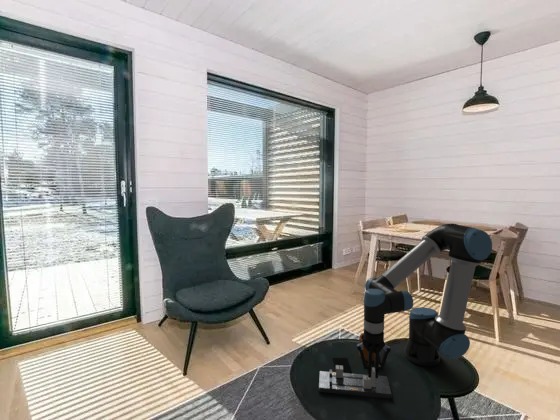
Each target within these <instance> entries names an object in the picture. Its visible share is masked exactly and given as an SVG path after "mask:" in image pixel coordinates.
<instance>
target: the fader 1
mask: <svg viewBox="0 0 560 420" xmlns="http://www.w3.org/2000/svg"><path fill="white" fill-rule="evenodd" d="M336 378H343V366H340V365H336Z"/></svg>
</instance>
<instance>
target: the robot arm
mask: <svg viewBox="0 0 560 420" xmlns="http://www.w3.org/2000/svg"><path fill="white" fill-rule="evenodd" d="M492 241H493V240H492V238H491V237H490V235H489V233H487V232H486V231H485V230H482V229H479V228H476V227H471V226H465V225H460V224H457V223H446V224H445V223H444V224H442V225H439V226H437V227H435V228H433V229H432V230H430V231H429V232H427V233H426V234H424V235H423V236H422V237H421V241H420V242H418V244H417V245H415V246H414V247H413V248H412V249H410V250H409V251H408V252H407V253H406V254H404V256H402V257H401V258H399V260H397V261H396V262H394V264H392V265H391V266H390V267H389V268H388V269H386V271H384V272H383V273H382V274H380V275H379V276H378V277H370V278H368V279H367V280H366V281H365V285H364V287H365V292H364V294H363V295H364V297H363V333H364V339H363V340H362V343H360V344H359V342H358V343H356V349H357V350H358V353H359V352H360V355H361V357H360V359H361V363H362V366H363V369H364V370H367V375H368V377H369V378H371V387H375V378H378V376H379V372H380V371H384V368H385V366H386V362H387V358H388V355H389V353H391V351H392V349H391V346H390V345H389V344H386V343H385V341H384V340H385V332H384V331H385V317H386V316H385V315H389V314H394V313H401V312H407V311H409V310H410V311H409V316H408V318H409V319H408V321H409V322H408V324H409V325H408V340H407V342H406V344H405V346H404V352H403V353H404V356H405V358H406V359H407V360H409V361H410V362H412V363H413V364H416V365H419V366H423V367H435V366H437V365H438V364H440V361H441V356H440V355H442V356H445V357H446V358H447V359H451V360H456V359H460V358H462V356H464V355H465V354H466V353H468V351H469V349H470V346H471V339H470V338H469V336H467V335H466V334H465V333H466V331H467V327H466V325H465V323H464V318H465V314H466V309H467V306H468V301H469V298H470V293H471V289H472V288H471V287H472V283H473V281H474V274H475V271H476V267H477V266H479V265H481V264H482V261H484V260H486V259H487V258H489V256H490V255H491V253H492V250H493V242H492ZM446 250H448V251H449V252H448V258H449V259H450V261H451V262H450V266H449V272H448V276H447V279H446V280H447V281H446V285H445V289H444V294H443V298H442V303H441V308H440V313H439V314H438V311H436V310H435V309H433V308H430V307H414V298H413V296H412V293H411V292H409V291H408V290H399V291H398V290H396V289H395V288H397V287H398V286H399V285H400V284H401V283H402V282H404V281H405V280H406V279H407V278H409V276H411V275H412V274H413V273H414V272H415V271H416V270H418V269H419V268H420V267H421V266H423V264H425V263H426V262H427V261H428V260H429V259H431V258H432V257H433V256H434V255H440V254H441V252H443V251H446ZM413 307H414V308H413ZM363 346H364V347H365V348H366V349H367V351H368V361H367V362H366V360H365V357H364V353H363ZM382 350H383V351H382ZM381 351H382V354H381V358H380V357H379V356H380V352H381ZM373 352H374V353H375V361H374V365H372V364H373V361H372V353H373ZM379 360H380V361H379Z"/></svg>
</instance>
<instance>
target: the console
mask: <svg viewBox="0 0 560 420" xmlns="http://www.w3.org/2000/svg"><path fill="white" fill-rule="evenodd" d="M363 375H364V374H362V373H361V374H360V373H352V374H350V373H343V378H336V372H335V371H333V369H329V371H324V370H320V371H319V376H318V377H319V378H318V379H319V382H318V393H327V394H328V393H329V394H337V395H338V394H339V395H348V396H358V397H359V396H361V397H369V398H371V397H372V398H379V399H380V398H382V399H392V394H393V393H392V391H391V386H390V382H389V379H388V376H384V375H378V378H375V387H371V389H365V388H363ZM366 375H367V376H368V374H366Z"/></svg>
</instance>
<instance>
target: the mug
mask: <svg viewBox="0 0 560 420" xmlns="http://www.w3.org/2000/svg"><path fill="white" fill-rule="evenodd" d="M363 339H364V332H362V333H360V335H359V336H358V343H359V344H360V343H362V340H363ZM363 353H364V357H365V361H367V362H368V351H367V349H366V348H365V347H364V346H363ZM358 356H359V358H361V355H360V352H359V351H358ZM372 362H375V353H374V352H373V353H372Z"/></svg>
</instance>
